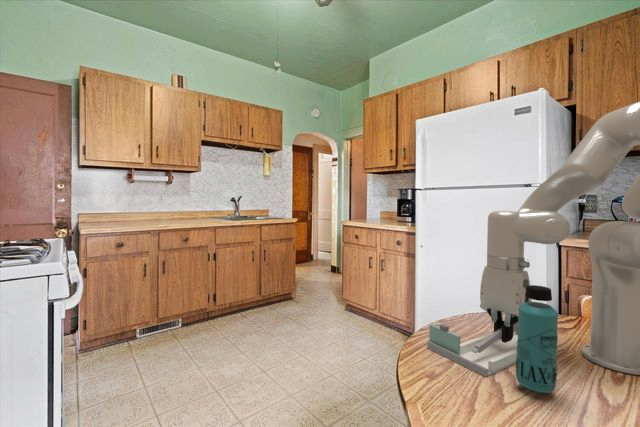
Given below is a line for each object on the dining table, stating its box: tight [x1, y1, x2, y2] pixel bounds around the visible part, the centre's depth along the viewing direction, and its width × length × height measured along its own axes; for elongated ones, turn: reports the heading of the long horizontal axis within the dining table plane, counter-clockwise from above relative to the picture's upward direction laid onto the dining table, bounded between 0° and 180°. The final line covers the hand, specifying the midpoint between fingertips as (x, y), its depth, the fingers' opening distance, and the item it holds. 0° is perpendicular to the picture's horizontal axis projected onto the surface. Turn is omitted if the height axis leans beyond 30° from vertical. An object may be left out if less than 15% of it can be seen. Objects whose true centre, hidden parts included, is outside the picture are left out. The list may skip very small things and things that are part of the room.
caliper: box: [472, 322, 518, 353], centre depth 74 cm, size 20×1×6 cm, turn 120°
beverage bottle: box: [515, 284, 559, 394], centre depth 59 cm, size 6×7×20 cm
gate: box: [428, 323, 461, 356], centre depth 75 cm, size 8×1×6 cm, turn 30°
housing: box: [426, 331, 518, 378], centre depth 78 cm, size 15×26×2 cm, turn 120°
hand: (503, 339), depth 75 cm, fingers closed on caliper, 1 cm apart
